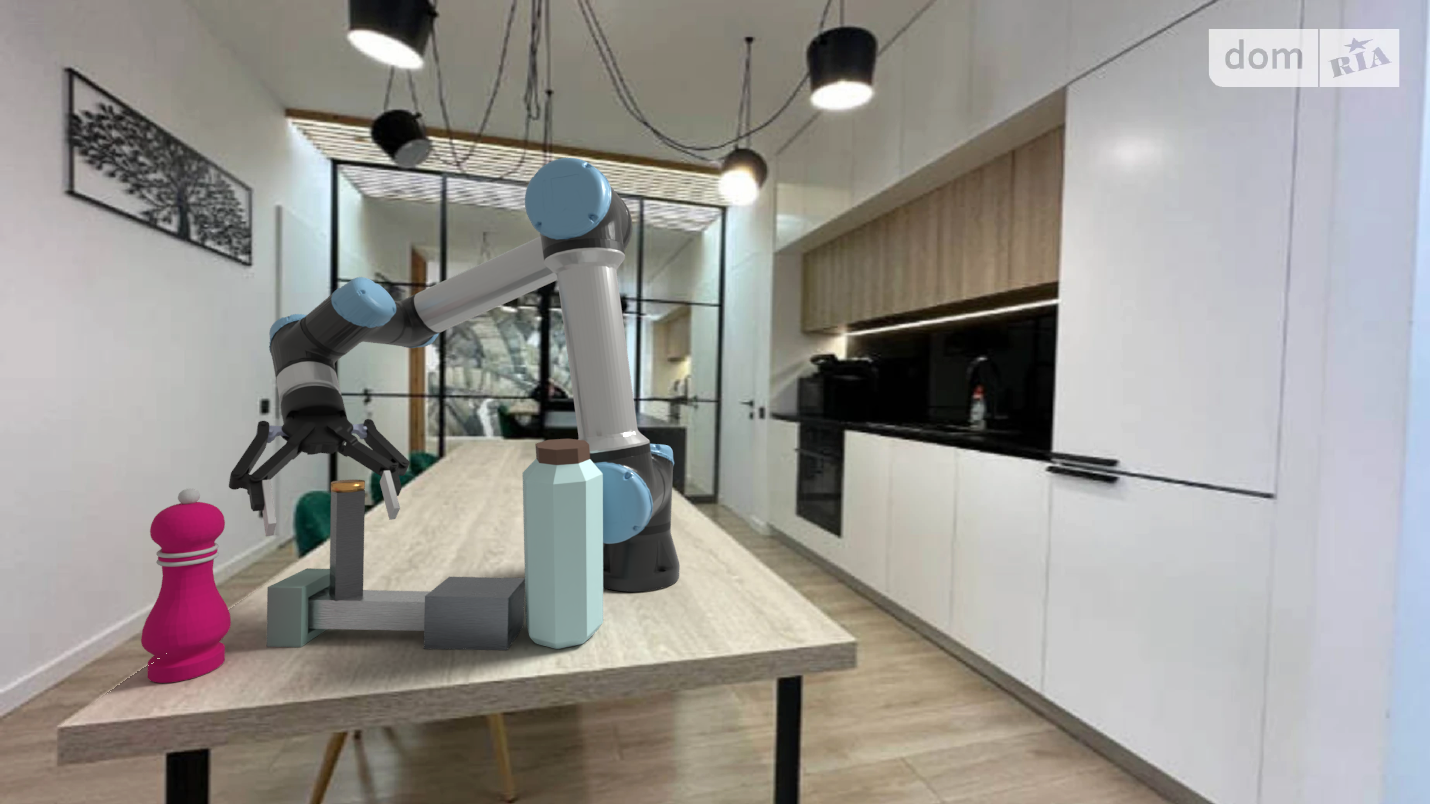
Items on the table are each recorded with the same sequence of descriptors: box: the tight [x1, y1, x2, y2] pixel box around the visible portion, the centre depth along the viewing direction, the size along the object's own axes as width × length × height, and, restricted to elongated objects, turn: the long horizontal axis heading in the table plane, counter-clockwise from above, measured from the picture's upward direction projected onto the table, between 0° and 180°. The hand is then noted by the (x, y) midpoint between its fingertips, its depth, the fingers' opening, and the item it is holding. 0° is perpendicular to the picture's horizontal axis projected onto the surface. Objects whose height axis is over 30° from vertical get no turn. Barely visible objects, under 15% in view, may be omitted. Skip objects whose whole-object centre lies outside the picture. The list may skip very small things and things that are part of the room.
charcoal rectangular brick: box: [423, 576, 525, 651], centre depth 73 cm, size 10×7×6 cm
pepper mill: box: [140, 488, 232, 684], centre depth 62 cm, size 7×7×20 cm
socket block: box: [266, 567, 330, 648], centre depth 72 cm, size 4×7×7 cm, turn 3°
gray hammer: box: [308, 479, 432, 632], centre depth 72 cm, size 18×4×18 cm, turn 93°
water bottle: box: [522, 438, 604, 650], centre depth 73 cm, size 10×10×25 cm
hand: (337, 521), depth 74 cm, fingers open, 13 cm apart
